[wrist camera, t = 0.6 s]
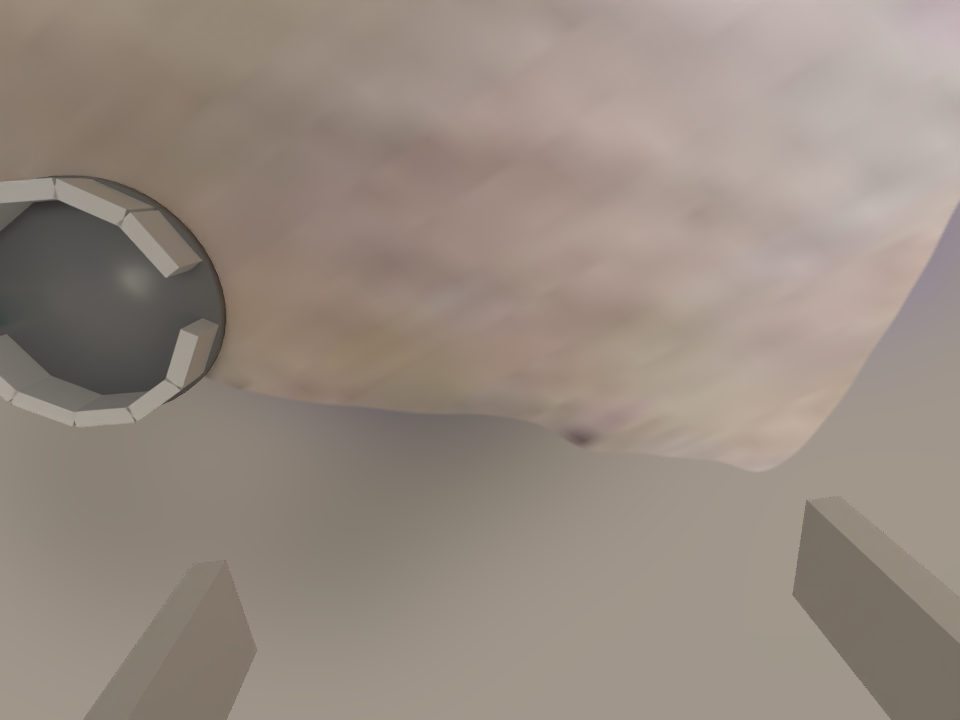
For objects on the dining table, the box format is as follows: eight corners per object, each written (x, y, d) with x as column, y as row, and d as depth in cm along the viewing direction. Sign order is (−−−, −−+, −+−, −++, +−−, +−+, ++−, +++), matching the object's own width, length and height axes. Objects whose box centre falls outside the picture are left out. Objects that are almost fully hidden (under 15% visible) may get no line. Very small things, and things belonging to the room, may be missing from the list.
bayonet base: (-61, 186, 34) (-127, 186, 30) (191, 165, 34) (157, 163, 30) (33, 414, 39) (-13, 438, 36) (249, 396, 40) (226, 419, 36)
